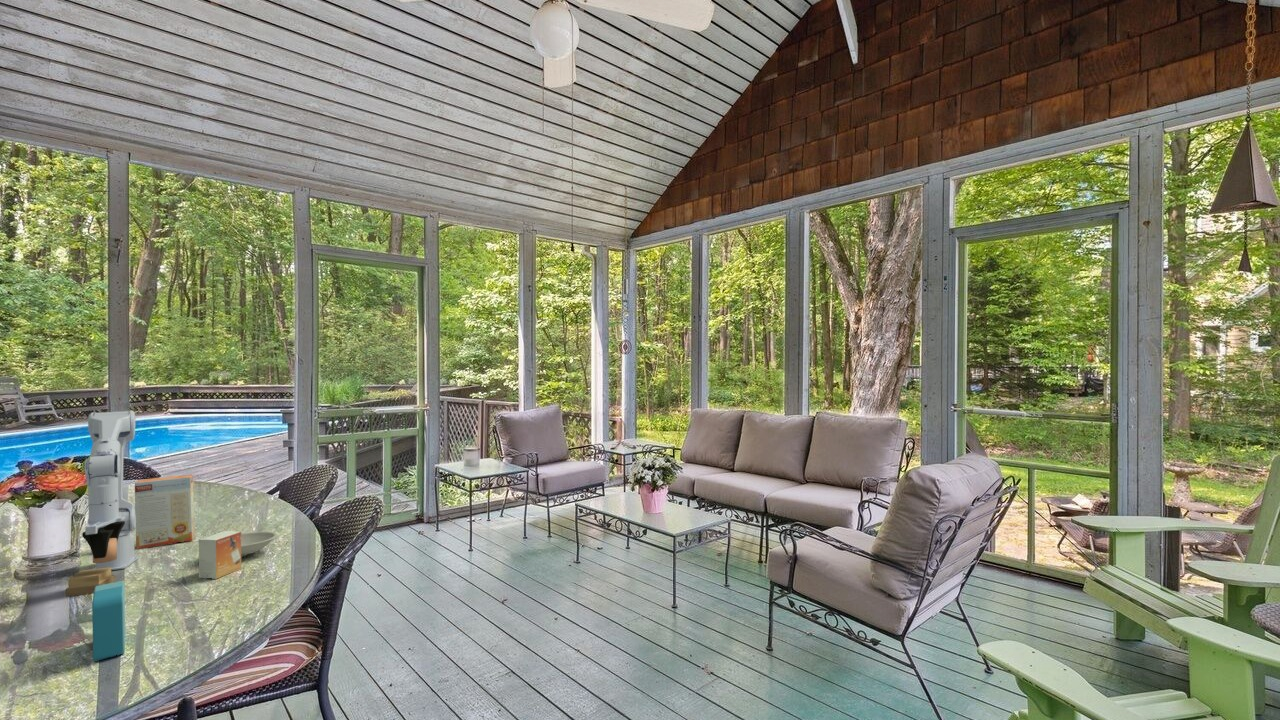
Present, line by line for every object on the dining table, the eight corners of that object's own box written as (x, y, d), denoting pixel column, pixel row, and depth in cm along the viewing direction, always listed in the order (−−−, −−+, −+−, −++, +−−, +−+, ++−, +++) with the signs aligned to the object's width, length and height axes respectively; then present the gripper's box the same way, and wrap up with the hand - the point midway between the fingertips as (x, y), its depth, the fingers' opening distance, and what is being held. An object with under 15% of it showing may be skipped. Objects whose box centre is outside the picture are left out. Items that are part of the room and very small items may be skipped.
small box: (215, 579, 153) (215, 540, 153) (198, 578, 154) (197, 539, 154) (242, 568, 161) (241, 531, 161) (225, 567, 162) (224, 530, 162)
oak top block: (82, 579, 149) (81, 570, 149) (111, 576, 151) (110, 567, 151) (68, 588, 144) (68, 578, 144) (98, 584, 146) (98, 575, 146)
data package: (96, 641, 120) (95, 584, 120) (125, 634, 123) (124, 578, 123) (93, 664, 111) (91, 602, 111) (124, 656, 114) (123, 595, 114)
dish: (278, 544, 182) (278, 528, 182) (276, 557, 169) (276, 540, 169) (209, 554, 173) (208, 538, 173) (202, 569, 160) (201, 551, 160)
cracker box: (195, 536, 190) (193, 473, 190) (192, 541, 185) (191, 476, 185) (139, 544, 183) (138, 478, 183) (135, 549, 178) (134, 482, 178)
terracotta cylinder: (97, 558, 150) (97, 539, 150) (120, 555, 152) (119, 537, 152) (89, 564, 146) (88, 544, 146) (112, 561, 148) (112, 542, 148)
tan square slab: (80, 588, 150) (80, 579, 150) (114, 583, 152) (114, 574, 152) (66, 598, 143) (66, 589, 143) (102, 593, 146) (102, 584, 146)
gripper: (110, 506, 144) (112, 561, 144) (134, 494, 157) (135, 543, 157) (73, 510, 141) (75, 565, 141) (101, 497, 154) (102, 547, 154)
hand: (104, 554), depth 149 cm, fingers closed on terracotta cylinder, 5 cm apart
